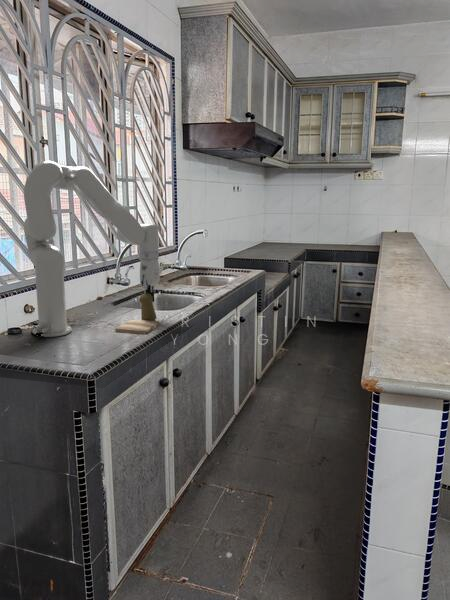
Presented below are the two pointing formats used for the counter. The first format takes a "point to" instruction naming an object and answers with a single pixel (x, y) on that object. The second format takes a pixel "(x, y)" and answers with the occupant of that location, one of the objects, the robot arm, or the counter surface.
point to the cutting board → (137, 326)
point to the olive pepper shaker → (147, 307)
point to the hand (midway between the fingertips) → (149, 301)
